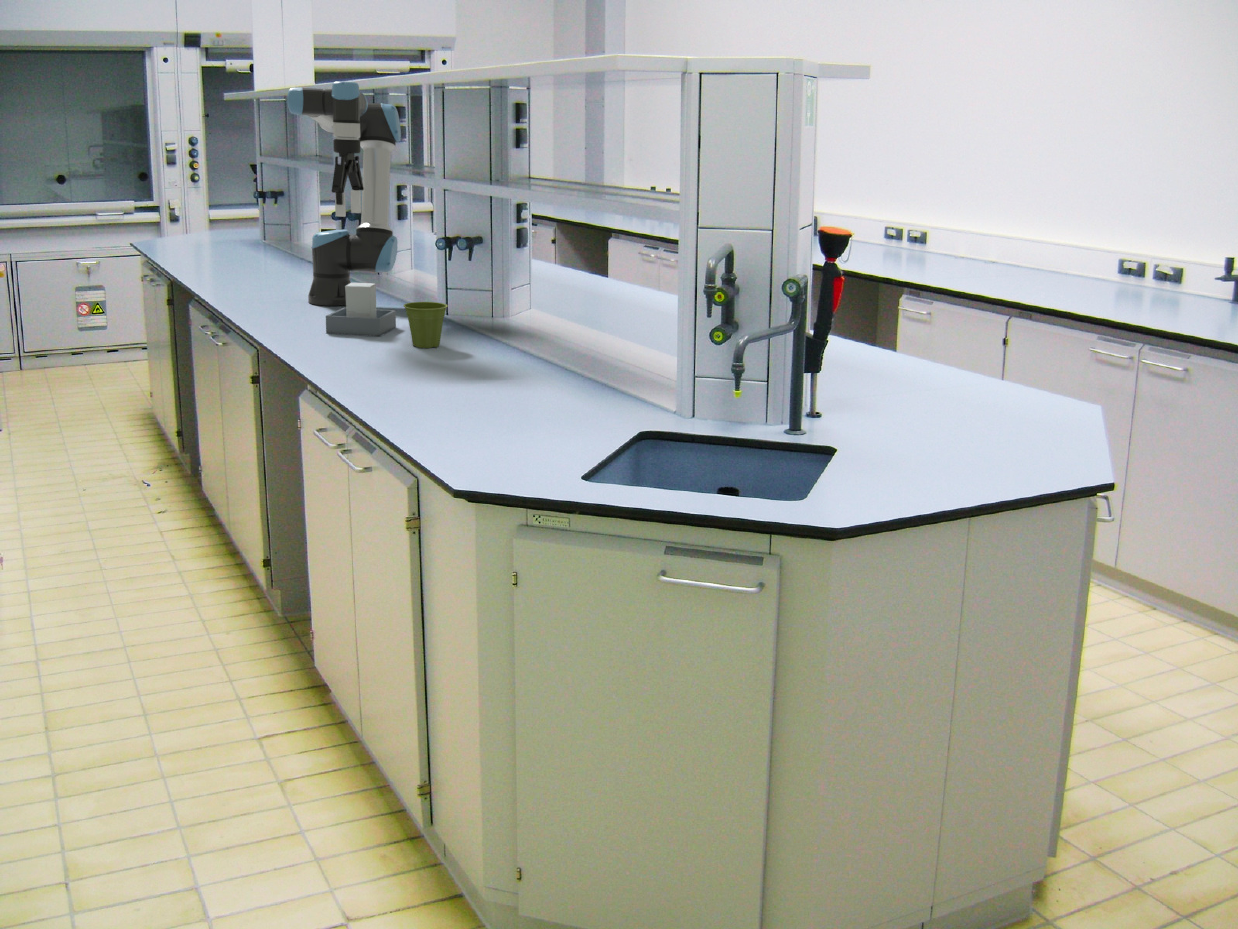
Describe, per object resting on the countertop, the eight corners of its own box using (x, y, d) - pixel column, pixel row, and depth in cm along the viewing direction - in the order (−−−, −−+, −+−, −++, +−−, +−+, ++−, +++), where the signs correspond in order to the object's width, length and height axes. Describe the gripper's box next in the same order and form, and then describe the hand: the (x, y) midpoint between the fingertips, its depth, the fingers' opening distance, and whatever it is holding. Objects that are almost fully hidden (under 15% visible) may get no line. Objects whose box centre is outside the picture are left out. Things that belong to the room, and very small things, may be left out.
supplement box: (377, 326, 342) (376, 283, 339) (371, 330, 335) (370, 286, 331) (352, 325, 342) (351, 281, 339) (345, 329, 335) (344, 285, 332)
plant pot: (400, 342, 323) (399, 301, 320) (442, 341, 327) (442, 301, 324) (408, 350, 313) (407, 308, 310) (452, 349, 317) (452, 308, 314)
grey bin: (344, 324, 347) (343, 307, 345) (395, 327, 345) (395, 310, 344) (326, 333, 332) (325, 315, 330) (379, 336, 330) (379, 319, 329)
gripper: (348, 137, 346) (349, 210, 352) (318, 138, 322) (320, 217, 328) (373, 138, 345) (374, 212, 351) (345, 139, 321) (347, 218, 327)
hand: (348, 214), depth 340 cm, fingers open, 13 cm apart
